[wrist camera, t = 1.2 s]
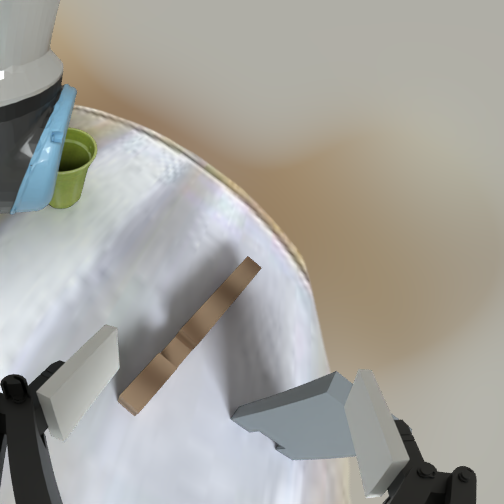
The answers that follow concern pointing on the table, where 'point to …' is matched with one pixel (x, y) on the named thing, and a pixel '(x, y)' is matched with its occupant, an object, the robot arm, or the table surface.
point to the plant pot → (73, 167)
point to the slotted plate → (304, 419)
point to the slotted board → (186, 339)
